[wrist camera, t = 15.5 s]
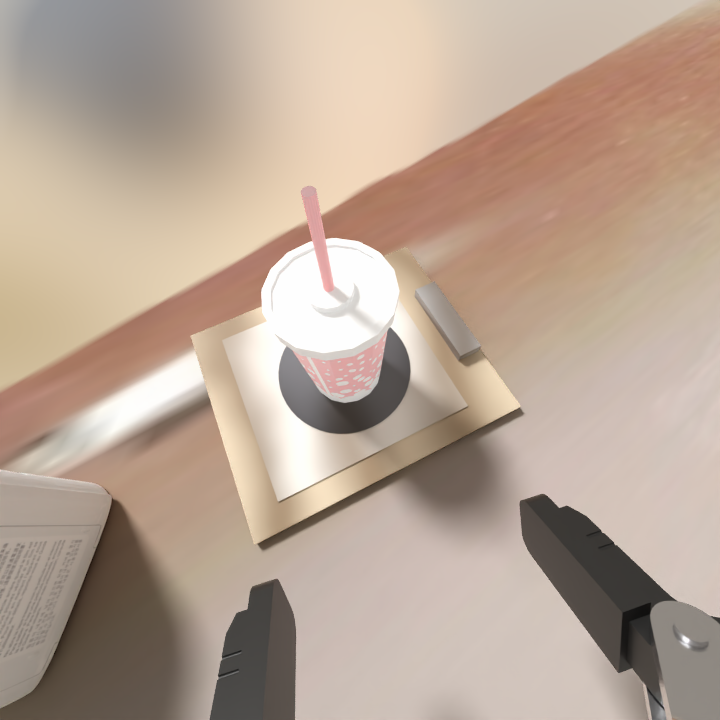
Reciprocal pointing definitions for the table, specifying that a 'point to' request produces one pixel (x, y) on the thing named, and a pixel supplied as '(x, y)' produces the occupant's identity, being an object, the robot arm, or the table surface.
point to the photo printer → (41, 568)
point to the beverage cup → (332, 308)
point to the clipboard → (344, 405)
